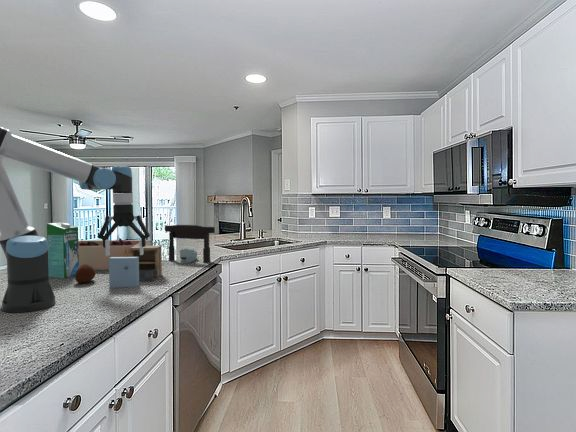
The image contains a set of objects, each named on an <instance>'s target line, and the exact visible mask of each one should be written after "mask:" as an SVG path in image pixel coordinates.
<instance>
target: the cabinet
mask: <svg viewBox="0 0 576 432" xmlns="http://www.w3.org/2000/svg"><path fill="white" fill-rule="evenodd" d="M143 252H144V254H143V255H140V246H134V247H131V248H130V257H139V282H155V281H156V279H159V278H160V277H161V276H162V275H163V271H162V269H163V268H162V266H163V264H162V261H163V260H162V253H163V252H162V245H149V246H145V247H143Z"/></svg>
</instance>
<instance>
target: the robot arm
mask: <svg viewBox="0 0 576 432" xmlns="http://www.w3.org/2000/svg"><path fill="white" fill-rule="evenodd" d="M4 158H9V159H12V160H14V161H18V162H20V163H23V164H25V165H29V166H32V167H35V168H38V169H40V170H44V171H47V172H50V173H53V174H56V175H58V176H62V177H64V178H68V179H70V180H73V181H77V182H78V183H79V184H78V186H79V188H80V189H81V190H86V191H87V190H89V191H90V190H91V191H92V190H95V191H96V190H112V203H113V205H112V206H113V207H112V208H113V209H112V210H113V215H112V216H110V215H106V216H105V218H104V222H103V225H102V227H101V229H100V231H99V232H98V235H97V239H98V240H103V247H104V248H105V249H106V256H109V255H110V241H109V240H110V239H109V238H110V236H111V235H112V234H113V232H114V231H115V230H116V228H118V227H125V228H126V227H130V228H131V229H132V230H133V231H134V232H135V234H136V235H138V237H139V238H140V239H138V240H139V243H140V255H143V254H144V252H143V247H145V246H146V240H147V238H148V239H149V238H150V237H151V234H150V232H149V231H148V229H147V227H146V225H145V223H144V222H143V217H142V215H140V214H139V215H134V205H133V202H134V200H133V199H134V198H133V196H134V195H133V172H132V168H131V167H130V166H128V165H114V166H111V169H109V168H107V167H101V166H98V165H96V164H92V163H90V162H87V161H84V160H82V159H79V158H77V157H74V156H71V155H68V154H65V153H63V152H61V151H57V150H55V149H53V148H50V147H48V146H44V145H41V144H39V143H36V142H33V141H31V140H28V139H25V138H23V137H20V136H17V135H15V134H12V132H11V131H10V129H8V128H5V127H2V126H0V247H1V249H2V252H3V253H4V256H5V259H6V274H7V275H6V276H7V277H6V278H7V288H6V289H5V293H4V296H3V298H2V302H1V311H2V312H6V313H27V312H34V311H39V310H44V309H48V308H50V307H52V306H55V305H56V295H55V294H54V290H53V288H52V286H51V283H50V277H49V266H48V249H49V245H48V241H47V237H44V236H42V235H41V236H40V235H39V233H38V231H37V229H36V228H35V227H33V226H31V225H29V222H28V220H27V218H26V216H25V213H24V211H23V208H22V206H21V203H20V202H19V199H18V197H17V194H16V192H15V189H14V188H13V185H12V183H11V180H10V178H9V175H8V173H7V171H6V168H5V166H4V163H3V159H4ZM112 220H113V224H112V226H111V227H110V228H109V230H108V231H107V229H108V227H109V225H110V224H111V223H110V222H112ZM134 220H135V221H136V222H137V223H138V226H139V227H140V228H138V227H137V225H136V224H135V223H134ZM140 229H141V230H140ZM106 231H107V232H106Z"/></svg>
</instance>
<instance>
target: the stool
mask: <svg viewBox="0 0 576 432" xmlns="http://www.w3.org/2000/svg"><path fill="white" fill-rule="evenodd" d="M215 230H216V229H215V226H202V225H197V224H173V225H164V231H165V233H166V232H167V233H169V234H168V235H169V239H168V241H169V245H168V261H172V262H173V261H175V258H176V257H175V256H176V255H175V254H176V253H175V246H174V245H175V242H174V241H175V240H174V239H183V240H184V239H189V240H203V248H202V250H203V253H202V256H203V257H202V259H203V260H202V261H203V263H209V262H211V247H210V234H214V233H215ZM179 258H180V263H181V264H187V263H189V264H190V263H191V262H192V263H193V262H195V261H196V262H197V261H198V260H199V259H198V252H197V251H196V250H195V249H194V248H190V247H188V248H183V249H180V250H179Z"/></svg>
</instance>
